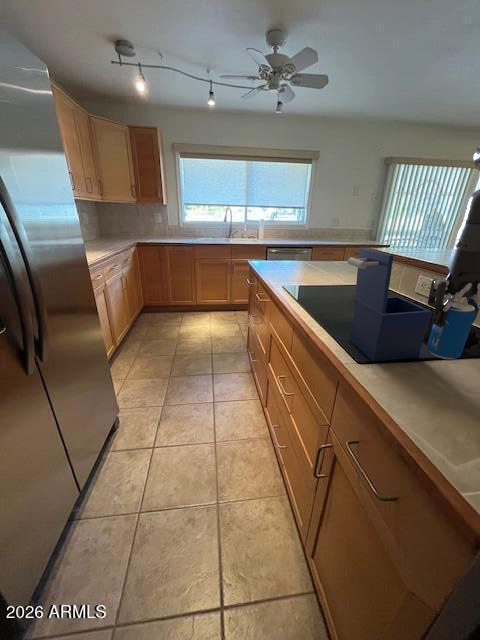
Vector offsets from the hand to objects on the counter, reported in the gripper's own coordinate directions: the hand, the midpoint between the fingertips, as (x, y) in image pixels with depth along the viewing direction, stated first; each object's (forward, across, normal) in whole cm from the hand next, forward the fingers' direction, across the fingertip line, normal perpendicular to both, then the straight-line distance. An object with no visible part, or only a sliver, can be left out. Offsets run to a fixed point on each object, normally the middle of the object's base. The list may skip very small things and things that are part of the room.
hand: (452, 323), depth 58 cm
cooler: (+15, -4, +16) cm, 22 cm away
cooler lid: (-7, -10, +16) cm, 20 cm away
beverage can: (+8, 0, 0) cm, 8 cm away
